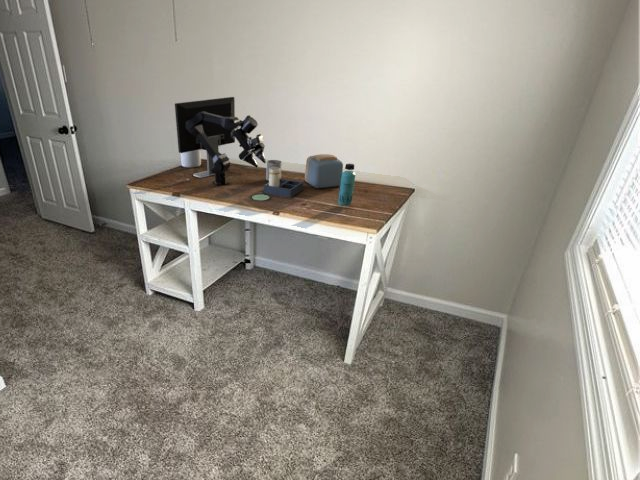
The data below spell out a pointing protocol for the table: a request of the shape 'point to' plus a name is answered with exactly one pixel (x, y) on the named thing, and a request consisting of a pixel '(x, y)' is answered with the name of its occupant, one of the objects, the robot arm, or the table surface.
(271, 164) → the cup
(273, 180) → the pen pot
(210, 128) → the computer monitor
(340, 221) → the table surface
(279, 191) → the organizer
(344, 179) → the beverage bottle
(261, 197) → the coaster
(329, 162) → the blue rounded cube
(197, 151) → the cylinder vase
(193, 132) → the robot arm
